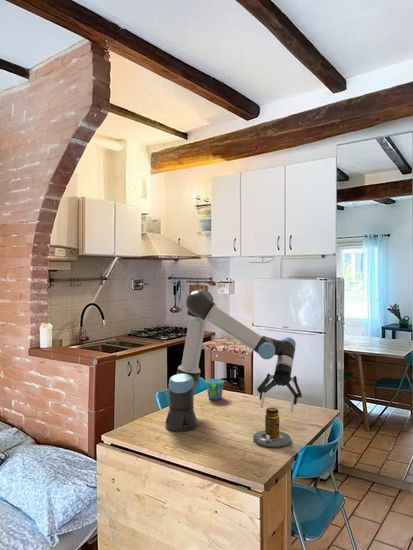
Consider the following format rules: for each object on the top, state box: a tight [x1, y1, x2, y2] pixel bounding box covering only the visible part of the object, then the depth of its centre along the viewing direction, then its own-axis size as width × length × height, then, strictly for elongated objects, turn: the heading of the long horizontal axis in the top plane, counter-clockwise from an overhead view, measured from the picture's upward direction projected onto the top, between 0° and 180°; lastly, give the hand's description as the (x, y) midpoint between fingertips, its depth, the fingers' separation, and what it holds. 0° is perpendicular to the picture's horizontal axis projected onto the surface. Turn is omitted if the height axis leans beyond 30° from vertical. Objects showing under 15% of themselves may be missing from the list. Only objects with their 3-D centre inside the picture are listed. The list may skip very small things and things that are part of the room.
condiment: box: [258, 407, 283, 441], centre depth 183 cm, size 7×8×12 cm
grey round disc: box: [252, 429, 292, 449], centre depth 183 cm, size 16×16×4 cm
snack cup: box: [205, 378, 225, 401], centre depth 244 cm, size 16×10×10 cm
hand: (276, 408), depth 187 cm, fingers open, 13 cm apart
